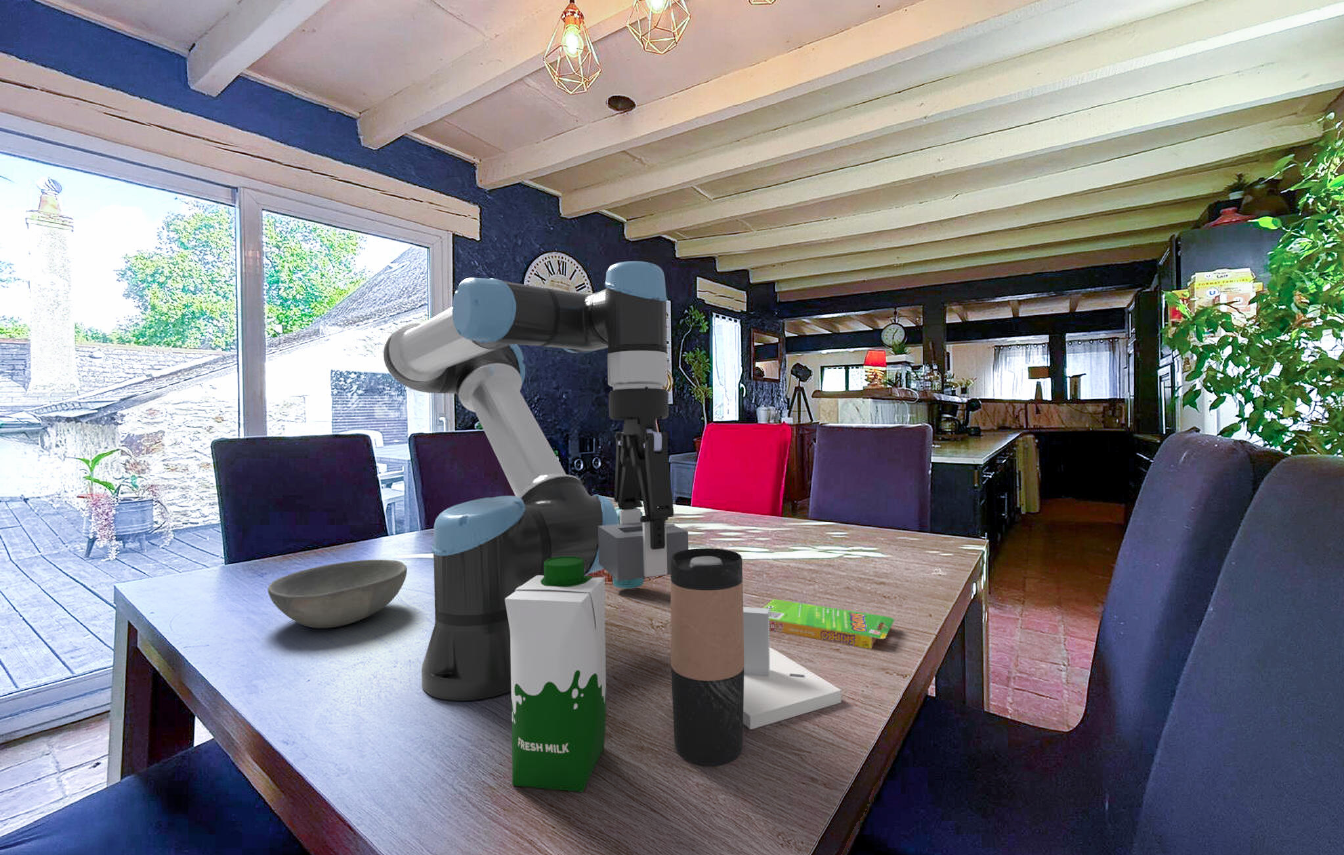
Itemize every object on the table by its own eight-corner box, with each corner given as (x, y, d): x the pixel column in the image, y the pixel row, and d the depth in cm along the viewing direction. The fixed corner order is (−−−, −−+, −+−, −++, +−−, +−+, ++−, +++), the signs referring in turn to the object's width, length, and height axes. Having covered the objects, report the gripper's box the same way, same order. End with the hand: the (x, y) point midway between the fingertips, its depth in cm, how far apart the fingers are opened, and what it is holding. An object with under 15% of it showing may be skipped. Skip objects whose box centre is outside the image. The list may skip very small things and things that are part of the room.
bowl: (403, 631, 94) (402, 582, 94) (250, 652, 86) (249, 599, 86) (410, 594, 114) (409, 554, 113) (286, 608, 106) (285, 565, 106)
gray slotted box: (618, 580, 67) (617, 535, 67) (598, 563, 75) (598, 523, 75) (688, 572, 70) (688, 528, 70) (663, 556, 78) (662, 518, 78)
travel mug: (739, 724, 64) (737, 547, 64) (750, 766, 56) (748, 564, 56) (670, 727, 64) (668, 548, 63) (673, 769, 56) (670, 566, 56)
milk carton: (614, 744, 61) (611, 556, 60) (588, 801, 52) (585, 581, 51) (535, 737, 62) (532, 554, 62) (497, 792, 53) (493, 577, 53)
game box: (774, 615, 102) (895, 630, 92) (753, 634, 94) (885, 653, 83) (773, 598, 102) (894, 611, 92) (752, 616, 94) (883, 632, 83)
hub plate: (750, 729, 63) (749, 643, 63) (677, 666, 79) (676, 598, 79) (841, 702, 69) (840, 623, 69) (755, 648, 85) (755, 584, 85)
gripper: (700, 382, 64) (705, 584, 64) (639, 393, 84) (643, 546, 84) (636, 381, 61) (641, 592, 61) (589, 393, 81) (593, 551, 81)
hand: (642, 565), depth 73 cm, fingers closed on gray slotted box, 9 cm apart
